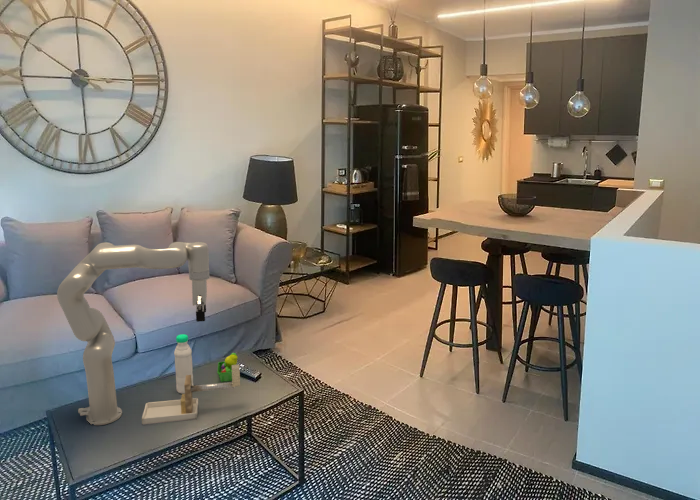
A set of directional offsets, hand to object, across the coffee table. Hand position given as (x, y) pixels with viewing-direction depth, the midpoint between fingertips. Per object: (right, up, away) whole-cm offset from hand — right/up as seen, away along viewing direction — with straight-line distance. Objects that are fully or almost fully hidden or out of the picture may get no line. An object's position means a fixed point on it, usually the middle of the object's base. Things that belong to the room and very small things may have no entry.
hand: (201, 316), depth 209 cm
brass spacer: (-8, -38, +3) cm, 39 cm away
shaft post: (-6, -38, +3) cm, 39 cm away
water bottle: (-13, -34, +20) cm, 42 cm away
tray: (-12, -39, +2) cm, 41 cm away
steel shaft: (+4, -29, +4) cm, 30 cm away
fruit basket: (+3, -32, +33) cm, 46 cm away
